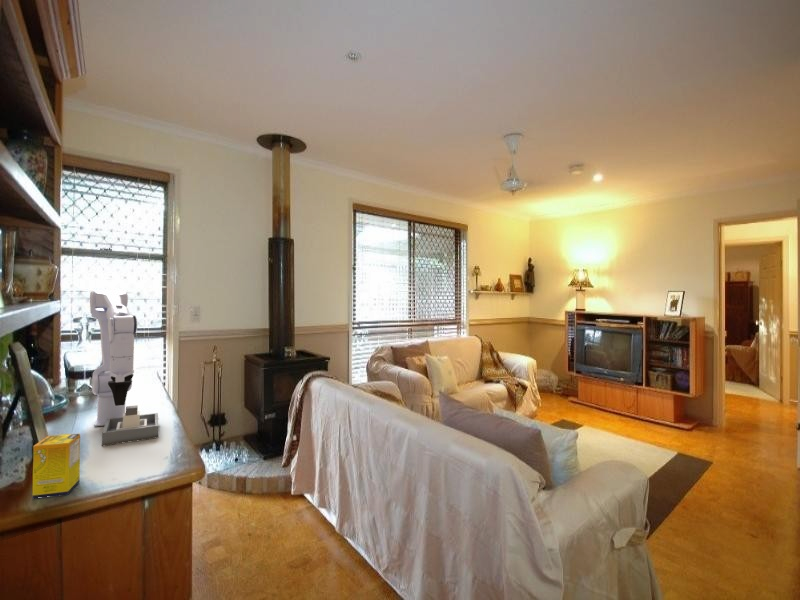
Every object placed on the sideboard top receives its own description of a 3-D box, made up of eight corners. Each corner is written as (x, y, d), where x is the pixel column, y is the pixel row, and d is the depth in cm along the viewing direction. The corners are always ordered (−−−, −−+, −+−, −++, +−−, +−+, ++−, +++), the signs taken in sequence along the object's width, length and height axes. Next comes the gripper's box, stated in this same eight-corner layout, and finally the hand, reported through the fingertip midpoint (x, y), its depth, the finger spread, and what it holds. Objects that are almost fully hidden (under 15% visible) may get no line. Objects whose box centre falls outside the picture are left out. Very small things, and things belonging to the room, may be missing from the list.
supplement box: (45, 486, 83) (47, 435, 83) (80, 482, 85) (81, 432, 85) (30, 500, 77) (32, 445, 77) (67, 495, 79) (69, 442, 79)
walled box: (106, 430, 117) (107, 418, 117) (157, 423, 124) (157, 412, 124) (101, 445, 105) (102, 433, 105) (158, 437, 112) (158, 425, 112)
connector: (123, 429, 115) (123, 406, 115) (139, 427, 117) (140, 404, 117) (122, 433, 112) (123, 409, 112) (139, 431, 114) (139, 407, 114)
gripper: (107, 353, 118) (106, 397, 118) (102, 360, 106) (101, 409, 106) (135, 352, 122) (134, 395, 122) (133, 359, 110) (132, 406, 110)
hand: (120, 401), depth 115 cm, fingers open, 7 cm apart
